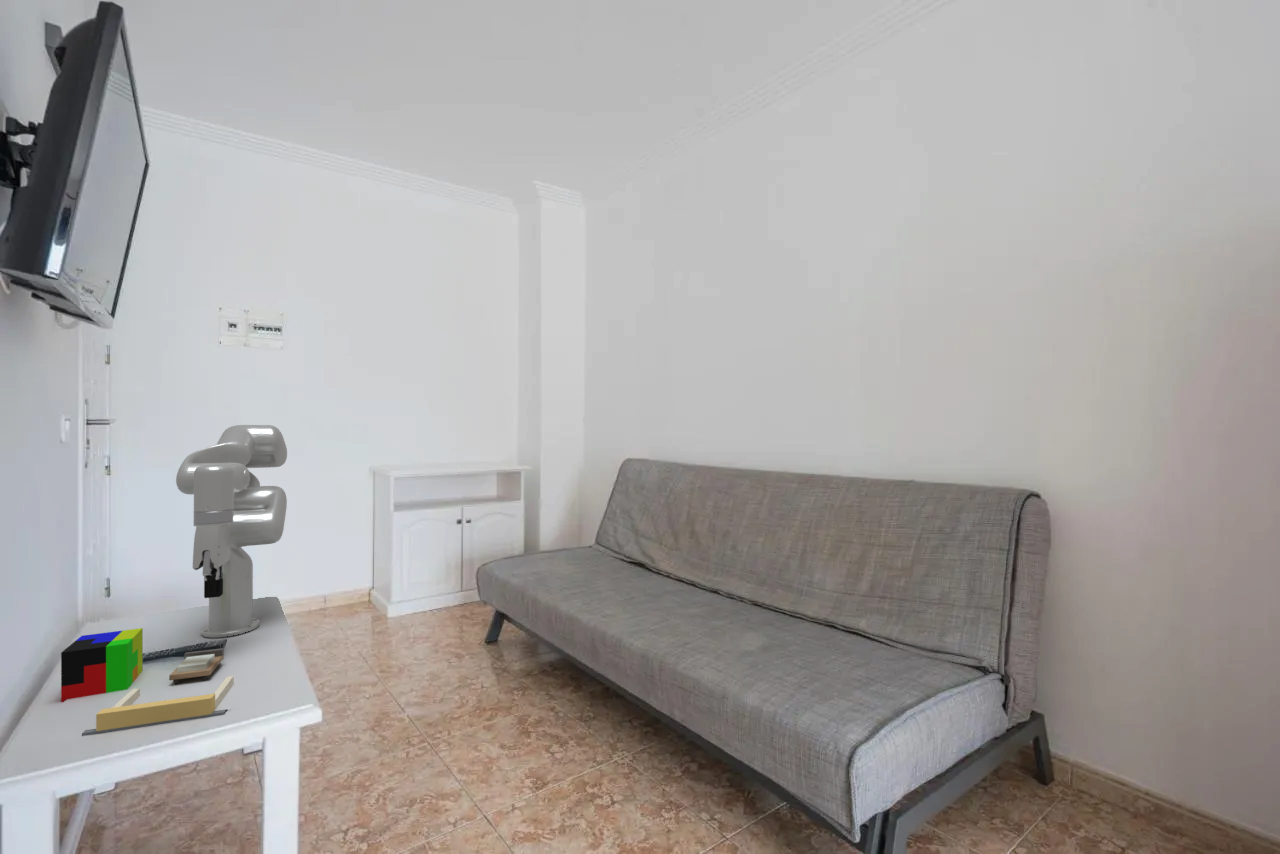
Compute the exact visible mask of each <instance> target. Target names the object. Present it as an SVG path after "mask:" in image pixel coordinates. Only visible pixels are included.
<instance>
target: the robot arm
mask: <svg viewBox="0 0 1280 854" xmlns="http://www.w3.org/2000/svg"><path fill="white" fill-rule="evenodd" d="M284 439H285V438H284V435H283V434H282V431H281V430H280V429H279V428H277V426H274V425H270V424H237V425H232V426H230V427H228V428H226V429H225V430H224V431H223V432H222V434H221V436H220V437H219V439H218V441H217V443H216V444H214V445H211V446H208V447H205V448H203V449H199V450H196V451H194V452H192V453H190V454H189V455H187V456H186V457H185V458H184V459H183V461H182V462H181V464H180V466H179V468H178V470H177V473H176V479H175V483H176V486H177V489H178V490H179V491H180V492H181V493H183V494H186V495H193V526H194V527H195V531H194V538H193V539H194V540H193V541H194V542H193V549H192V551H193V555H192V569H193V570H195V571H198V570H200V569H202V576H203V580H204V581H203V593H204V594H203V596H204V599H208V624H207V625H206V626H204V627H203V628H202V629H201V636H202V637H205V638H209V639H210V638H212V639H213V638H227V636H228V637H232V636H233V635H234V636H237V635H238V634H239V635H241V634H245V632H246V633H248V631H249V632H252V631H253V630H255V629H257V628H258V627H259V626H260V619H258V618H256V617H253V616H254V615H253V612H254V610H253V609H254V608H253V607H254V600H253V597H254V592H253V590H254V589H253V588H254V584H253V583H254V581H253V579H254V574H253V573H254V565H253V560H252V557H251V556H250V554H248V553H247V551H246V550H244V549H243V547H250V546H261V545H262V546H263V545H265V546H266V545H271V544H275V543H277V542H279V541H280V540H281V538H282V536H283V534H284V533H283V532H284V529H285V523H286V522H285V520H286V515H287V514H286V513H287V502H288V499H287V494H286V492H285V490H284V489H283V488H282V487H280V486H277V485H266V486H265V485H263V486H262V485H261V483H260V480H259V479H258V477H257V476H256V475H254V473H252V472H251V471H250V470H249V469H258V468H259V469H260V468H263V469H264V468H265V469H267V468H278V467H282V466H284V465H285V463H286V461H287V459H288V448H287V445H286V441H285V440H284ZM234 636H233V637H234Z"/></svg>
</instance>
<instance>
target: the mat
mask: <svg viewBox="0 0 1280 854" xmlns="http://www.w3.org/2000/svg"><path fill="white" fill-rule="evenodd" d="M234 679H235V678H234V675H230V676H226V677H225V679H224V680H223V681H222V683H221V684H220V685H219V686H218V688H217V689H216V690H215V691H214V693H209V694H203V695H195V696H188V697H187V696H186V697H181V698H179V697H178V698H174V699H166V700H159V701H152V702H151V701H150V702H143V703H138V704H133V703H134V702H135V701H136V700H137V699H138V698H139V697H140V696H141V688H132V689H131V690H130V691H128V692H127V694H125V695H124V696H123V697H122V698H121V699H119V700H118V702H117V703H116V704H114V705H113V706H112V707H108V708H103V709H100V710H99V711H98V712H97V713H96V714H95V715H96V716H95V717H96V718H95V721H96V723H95V728H93V729H85V730H84V731H82V733H81V736H82V737H83V736H88V735H96V734H103V733H109V732H116V731H122V730H129V729H135V728H142V727H149V726H155V725H162V724H169V723H175V722H182V721H187V720H188V721H189V720H196V719H202V718H208V717H216V716H223V715H225V714H226V712H227V711H228V708H227V709H221V710H216V708H217V707H218V705H220V702H221V701H222V700H223V698H224V697H225V696H226V695H227V693H228V692H229V691H230V689H231V688H232V686H233V685H234Z"/></svg>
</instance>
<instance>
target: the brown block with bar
mask: <svg viewBox="0 0 1280 854" xmlns="http://www.w3.org/2000/svg"><path fill="white" fill-rule="evenodd" d="M224 650H225V648H224V647H221V648H216V649H215V648H214V649H204V650H196V651H188V652H187V651H186V652H185V653H184V654H183V660H182V662H180V663H179V665H177V666H176V668H175V669H174V670H173V671H172V672H171V673H170V674H169V677H168V678H169V679H168V680H169V681H172V683H173V684H175V685H177V684H179V683H180V682H181V680H183V679H191V678H198V677H202V678H203V680H206V681H207V680H209V679H210V676H211V674H212V673H213V672H214V671H215V670H216V668H218V667H220V666H221V662H222V661H224V659H225V658H224V656H225V655H224V654H225V651H224Z"/></svg>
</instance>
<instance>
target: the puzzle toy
mask: <svg viewBox="0 0 1280 854" xmlns="http://www.w3.org/2000/svg"><path fill="white" fill-rule="evenodd" d="M143 633H144V632H143V627H140V628H132V629H125V630H118V631H117V630H116V631H108V632H102V633H92V634H84V635H80V636H79V637H78V638H76V640H75V641H73V642H72V643H71V644H70V645H69V646H67V647H66V648H65V649H64V650H63V651H61V653H60V655H61V657H60V667H61V669H60V672H61V673H60V678H61V679H60V681H61V682H60V686H61V687H60V690H61V691H60V693H61V696H60V697H61V699H60V701H61V702H63V703H65V702H66V701H67V700H70V699H71V700H72V699H77V698H85V697H90V696H96V695H103V694H107V693H114V692H115V693H116V692H120V691H126V690H129V689H130V688H131V686H132V685H133V683H134V682H135V681H136V680H137V678H138V677H139V676H140V675H141V674H142V672H143V659H144V658H143V654H144V653H143V643H144V642H143V635H144V634H143ZM61 702H60V703H61Z"/></svg>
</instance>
